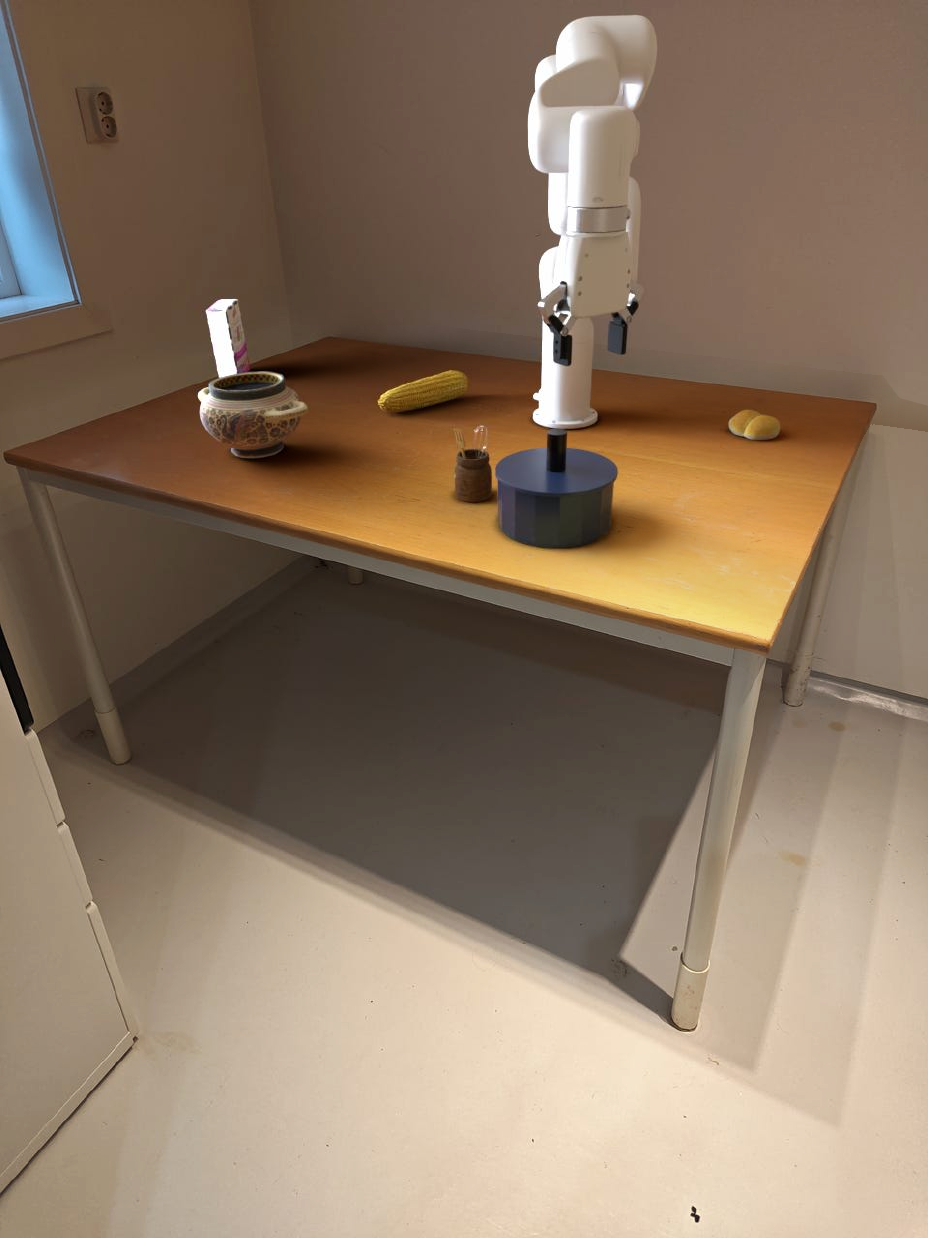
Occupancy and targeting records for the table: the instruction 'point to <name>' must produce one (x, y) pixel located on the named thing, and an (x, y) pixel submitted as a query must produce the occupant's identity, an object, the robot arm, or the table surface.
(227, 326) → the candy bar box
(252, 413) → the ceramic bowl
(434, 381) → the food
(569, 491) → the tin lid
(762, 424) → the bread roll
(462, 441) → the utensil holder
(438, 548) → the table surface
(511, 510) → the tin
